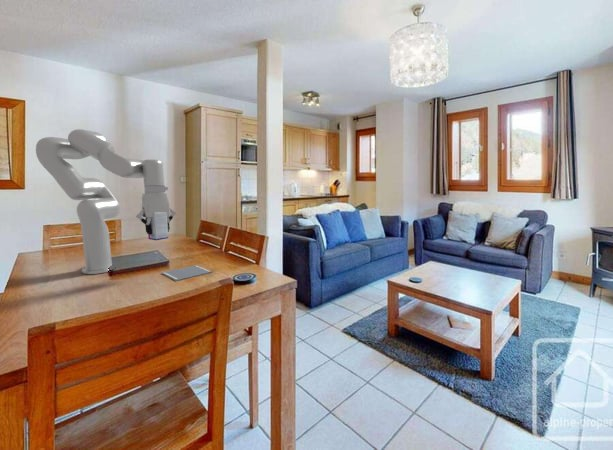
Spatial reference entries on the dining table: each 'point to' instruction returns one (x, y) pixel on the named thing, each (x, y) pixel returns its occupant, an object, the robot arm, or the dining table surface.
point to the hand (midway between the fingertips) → (158, 232)
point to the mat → (186, 272)
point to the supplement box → (159, 226)
